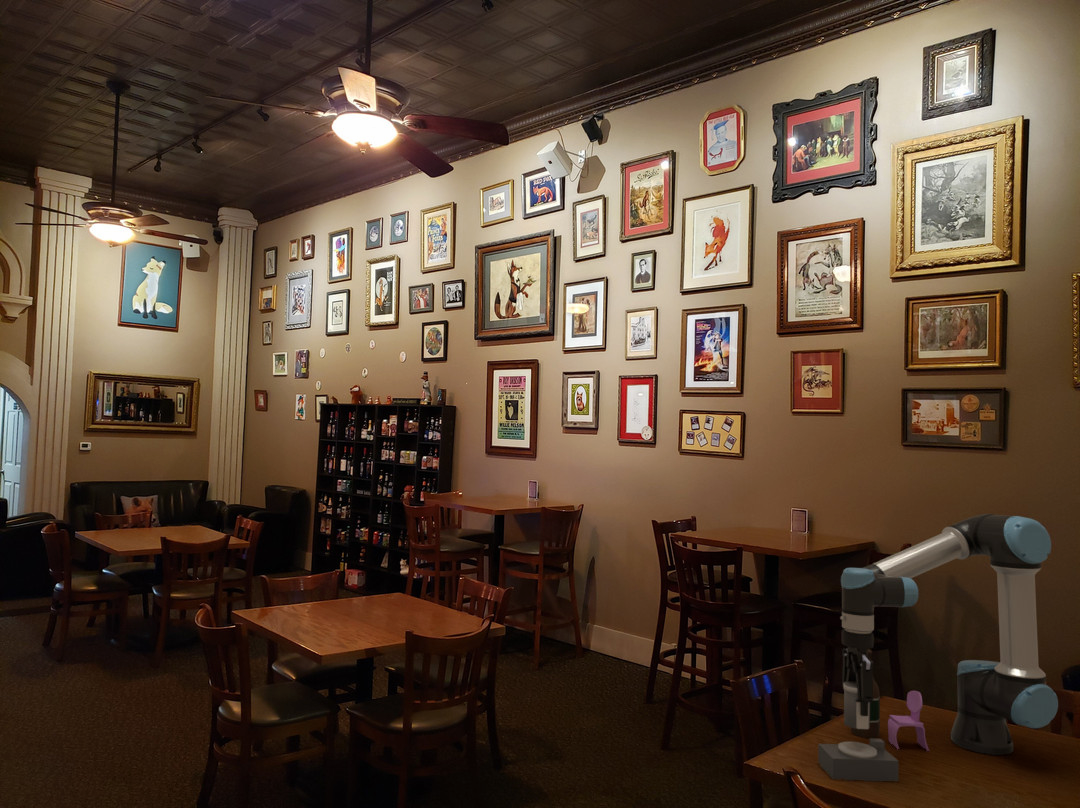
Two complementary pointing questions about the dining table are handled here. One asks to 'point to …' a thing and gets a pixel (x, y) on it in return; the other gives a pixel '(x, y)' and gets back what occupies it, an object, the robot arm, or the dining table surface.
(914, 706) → the toy chair
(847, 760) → the camera body block
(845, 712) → the lens
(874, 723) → the beer bottle
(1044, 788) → the dining table surface
